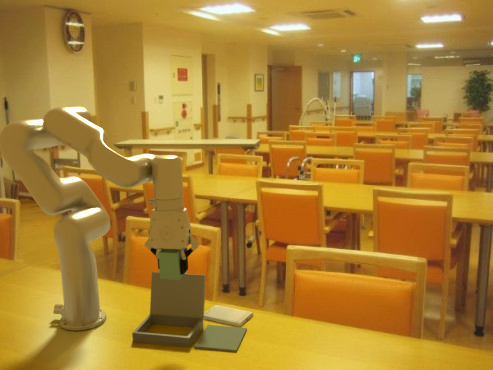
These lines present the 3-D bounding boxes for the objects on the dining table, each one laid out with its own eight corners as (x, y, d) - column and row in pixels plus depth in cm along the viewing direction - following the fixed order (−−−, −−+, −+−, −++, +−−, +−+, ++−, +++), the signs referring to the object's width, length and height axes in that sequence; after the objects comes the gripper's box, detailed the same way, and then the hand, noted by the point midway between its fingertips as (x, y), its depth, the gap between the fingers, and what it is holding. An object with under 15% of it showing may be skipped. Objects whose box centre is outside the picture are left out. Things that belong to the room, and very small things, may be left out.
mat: (194, 347, 129) (194, 346, 129) (207, 326, 140) (207, 324, 140) (236, 351, 126) (236, 350, 126) (246, 329, 138) (246, 328, 138)
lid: (151, 270, 144) (153, 269, 145) (149, 314, 143) (151, 313, 144) (204, 273, 140) (206, 272, 142) (202, 318, 139) (204, 317, 141)
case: (132, 341, 132) (132, 332, 132) (150, 322, 144) (149, 313, 143) (189, 347, 129) (189, 338, 129) (203, 326, 140) (203, 317, 140)
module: (160, 279, 130) (158, 252, 129) (168, 270, 136) (167, 245, 135) (178, 279, 129) (177, 253, 128) (186, 271, 135) (184, 246, 134)
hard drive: (201, 314, 145) (240, 323, 140) (216, 304, 152) (253, 311, 147) (201, 320, 145) (240, 328, 140) (216, 309, 153) (253, 316, 147)
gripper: (131, 207, 128) (137, 276, 131) (196, 208, 124) (200, 279, 127) (144, 200, 135) (148, 266, 138) (205, 201, 131) (209, 268, 134)
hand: (173, 271), depth 133 cm, fingers closed on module, 5 cm apart
